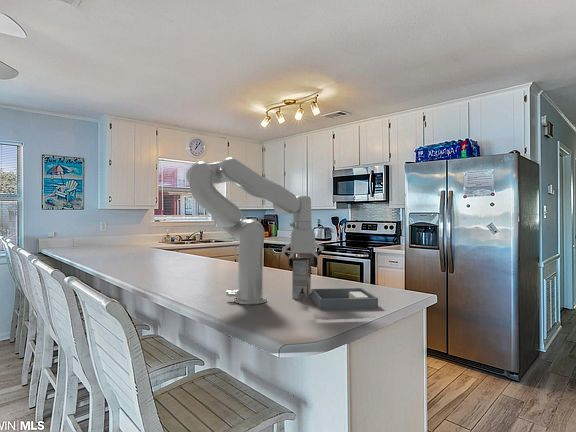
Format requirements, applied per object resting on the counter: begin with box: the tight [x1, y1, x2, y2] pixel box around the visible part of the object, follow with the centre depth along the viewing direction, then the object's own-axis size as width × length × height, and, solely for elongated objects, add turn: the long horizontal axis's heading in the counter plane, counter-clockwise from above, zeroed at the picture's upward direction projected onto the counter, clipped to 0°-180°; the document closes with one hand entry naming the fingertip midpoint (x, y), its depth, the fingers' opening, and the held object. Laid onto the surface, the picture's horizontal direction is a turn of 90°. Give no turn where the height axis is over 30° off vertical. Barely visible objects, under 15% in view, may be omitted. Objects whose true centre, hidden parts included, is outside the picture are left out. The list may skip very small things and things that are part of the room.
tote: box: [310, 287, 379, 311], centre depth 135 cm, size 21×19×4 cm
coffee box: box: [291, 256, 312, 300], centre depth 150 cm, size 9×6×16 cm
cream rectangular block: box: [349, 292, 369, 298], centre depth 136 cm, size 4×10×3 cm, turn 6°
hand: (303, 267), depth 150 cm, fingers open, 9 cm apart
